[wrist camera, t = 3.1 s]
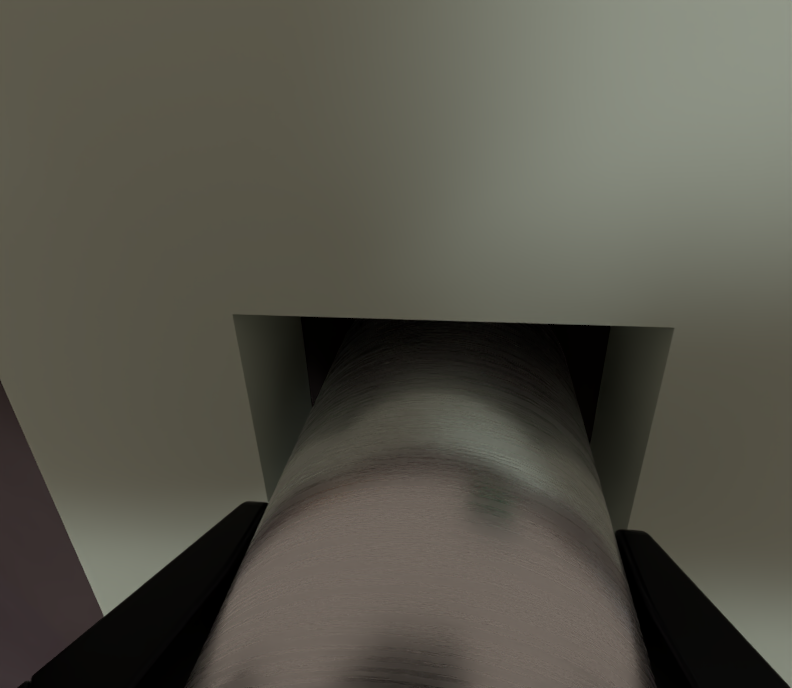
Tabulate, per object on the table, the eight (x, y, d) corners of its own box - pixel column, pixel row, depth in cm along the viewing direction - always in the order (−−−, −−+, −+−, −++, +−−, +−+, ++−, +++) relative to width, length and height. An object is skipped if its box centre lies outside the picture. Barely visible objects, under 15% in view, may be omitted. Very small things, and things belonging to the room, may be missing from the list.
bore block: (1025, -60, 7) (1330, -119, 5) (731, 642, 14) (787, 775, 12) (6, -7, 9) (-180, -27, 7) (192, 589, 16) (137, 692, 14)
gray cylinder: (584, 282, 10) (803, 775, 3) (555, 484, 13) (648, 1016, 6) (325, 277, 11) (59, 681, 4) (344, 470, 13) (198, 933, 6)
